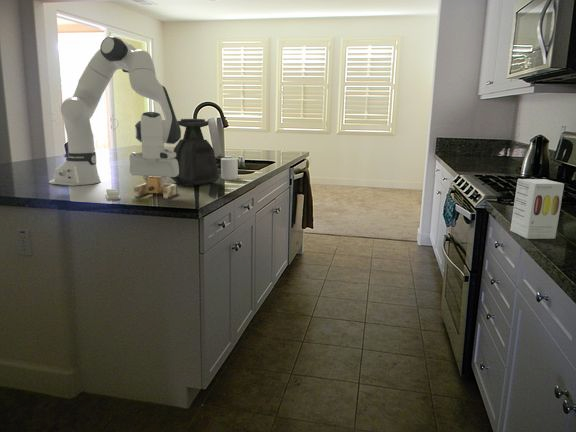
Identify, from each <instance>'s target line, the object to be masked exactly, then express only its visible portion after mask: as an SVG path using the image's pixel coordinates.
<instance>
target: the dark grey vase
mask: <svg viewBox="0 0 576 432" xmlns="http://www.w3.org/2000/svg"><path fill="white" fill-rule="evenodd" d="M177 121H178V123H179V126H180V127H184V129H185V130H184V132H183V138H180V139H179V140H178V141H177V144H176V145H175V147H174V148H173V150H172V151H173V152H175V153H176V157H175V159H177V161H178V166H179V175H178V176H176V177H169V178H170V179H172V180H173V181H174V182H175V184H180V185H184V186H188V185H189V187H198V186H204V185H210V184H214V183H215V182H217V180H218V179H219V178H220V174H219V170H218V163H217V159H216V155H215V149H214V148H213V146H212V145H211V144H210V142H209V141H208V140H207V139H205V138H204V135H203V132H202V129H201V128H204V127H207V126H209V121H207V120H206V119H205V118H180V120H177Z"/></svg>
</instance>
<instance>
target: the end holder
mask: <svg viewBox="0 0 576 432" xmlns="http://www.w3.org/2000/svg"><path fill="white" fill-rule="evenodd" d="M133 188H134V191H133V192H134V197H141V196H144V195H147V194H149V193H148V187H147V186H146V182H144V183H141V184H139V185H136V186H134V187H133ZM158 194H162V195H163V197H162V198H163V199H169V198H170V197H173V196H176V195H177V194H178V183H164V187H162V191H161V192H159V193H158ZM168 197H169V198H168Z"/></svg>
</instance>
